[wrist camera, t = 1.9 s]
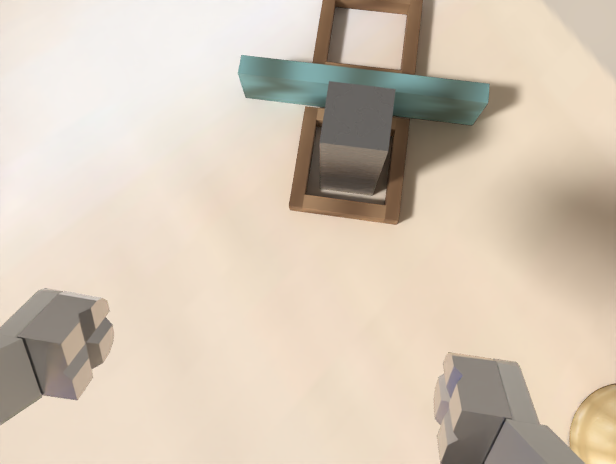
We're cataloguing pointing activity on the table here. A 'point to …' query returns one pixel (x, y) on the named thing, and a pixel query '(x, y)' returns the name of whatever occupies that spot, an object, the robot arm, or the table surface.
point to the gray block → (355, 136)
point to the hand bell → (595, 428)
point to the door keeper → (409, 87)
